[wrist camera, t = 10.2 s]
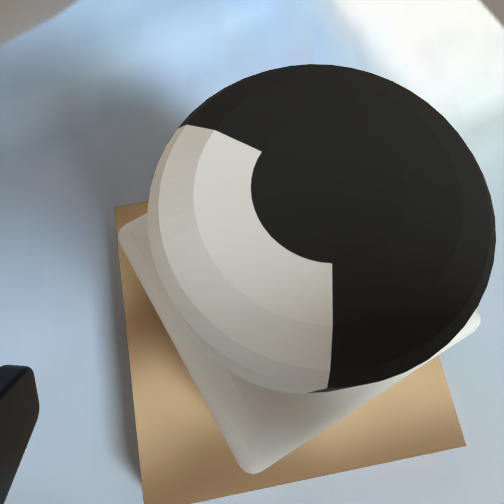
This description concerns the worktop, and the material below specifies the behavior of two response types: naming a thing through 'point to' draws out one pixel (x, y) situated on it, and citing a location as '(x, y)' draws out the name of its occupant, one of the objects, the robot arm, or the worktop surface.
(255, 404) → the medicine bottle
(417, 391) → the tan flat square slab
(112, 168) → the worktop surface
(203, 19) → the worktop surface
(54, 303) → the worktop surface
